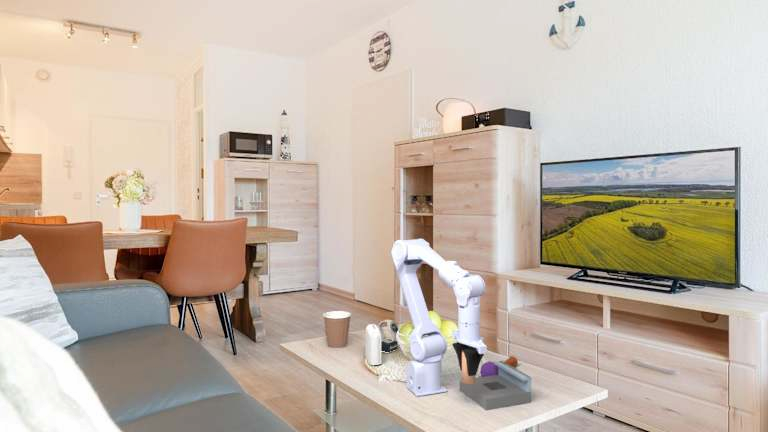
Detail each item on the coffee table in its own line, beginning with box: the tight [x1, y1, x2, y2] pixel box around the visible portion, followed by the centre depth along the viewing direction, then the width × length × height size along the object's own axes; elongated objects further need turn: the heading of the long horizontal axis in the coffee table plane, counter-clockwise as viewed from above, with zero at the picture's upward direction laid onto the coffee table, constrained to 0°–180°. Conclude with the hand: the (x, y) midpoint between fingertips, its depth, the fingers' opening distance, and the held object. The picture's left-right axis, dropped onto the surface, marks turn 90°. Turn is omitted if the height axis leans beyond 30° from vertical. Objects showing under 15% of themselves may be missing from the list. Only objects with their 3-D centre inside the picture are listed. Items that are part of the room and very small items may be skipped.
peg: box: [461, 351, 476, 384], centre depth 133 cm, size 4×4×8 cm
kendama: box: [479, 355, 519, 377], centre depth 158 cm, size 6×6×20 cm
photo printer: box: [364, 323, 382, 366], centre depth 169 cm, size 10×4×12 cm, turn 13°
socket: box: [459, 360, 532, 411], centre depth 140 cm, size 14×14×7 cm
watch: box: [377, 319, 400, 352], centre depth 181 cm, size 6×8×11 cm
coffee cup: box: [322, 310, 352, 350], centre depth 185 cm, size 10×10×12 cm
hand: (468, 372), depth 133 cm, fingers closed on peg, 3 cm apart
